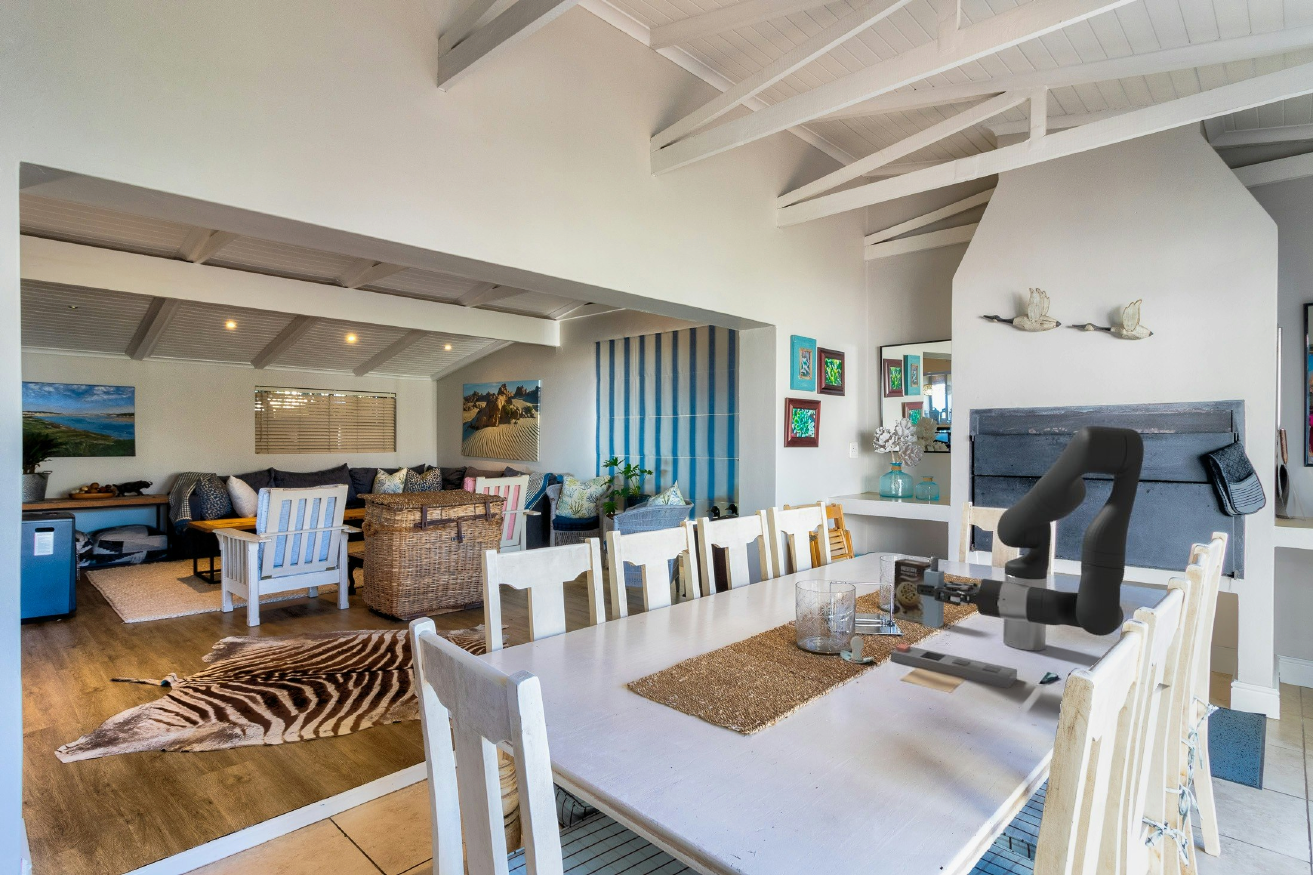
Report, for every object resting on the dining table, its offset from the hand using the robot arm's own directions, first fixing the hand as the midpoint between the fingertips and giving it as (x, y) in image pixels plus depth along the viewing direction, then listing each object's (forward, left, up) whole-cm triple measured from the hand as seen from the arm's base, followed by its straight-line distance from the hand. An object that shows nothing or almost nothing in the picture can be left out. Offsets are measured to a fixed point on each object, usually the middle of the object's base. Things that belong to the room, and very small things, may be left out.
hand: (921, 587), depth 152 cm
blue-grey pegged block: (0, +3, -8) cm, 8 cm away
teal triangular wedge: (-12, +17, -18) cm, 28 cm away
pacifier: (+9, -11, -18) cm, 23 cm away
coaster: (+9, +6, -18) cm, 21 cm away
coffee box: (-39, -15, -18) cm, 46 cm away
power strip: (0, +7, -18) cm, 19 cm away
